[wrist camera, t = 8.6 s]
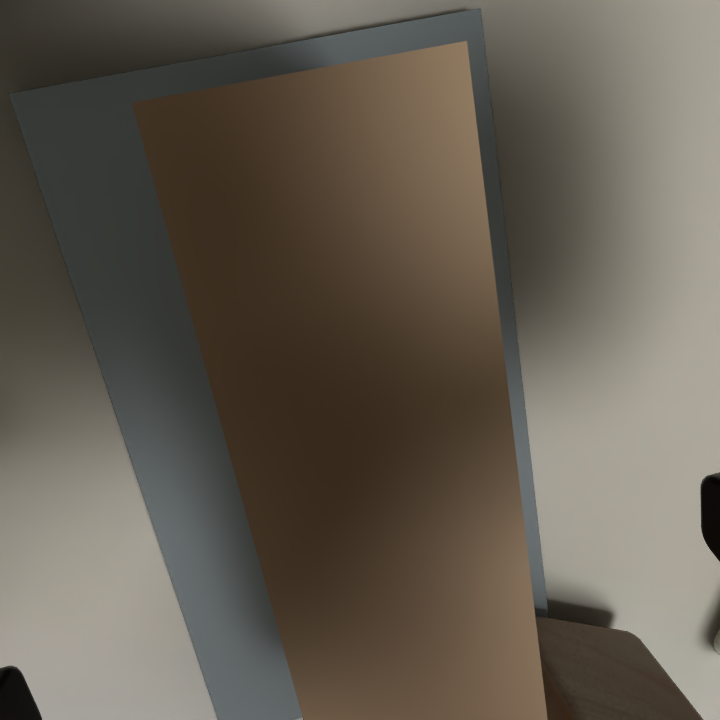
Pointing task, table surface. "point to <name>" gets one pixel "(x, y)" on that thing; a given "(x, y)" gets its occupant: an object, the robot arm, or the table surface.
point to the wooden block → (604, 676)
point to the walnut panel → (360, 376)
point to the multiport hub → (717, 642)
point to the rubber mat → (179, 341)
